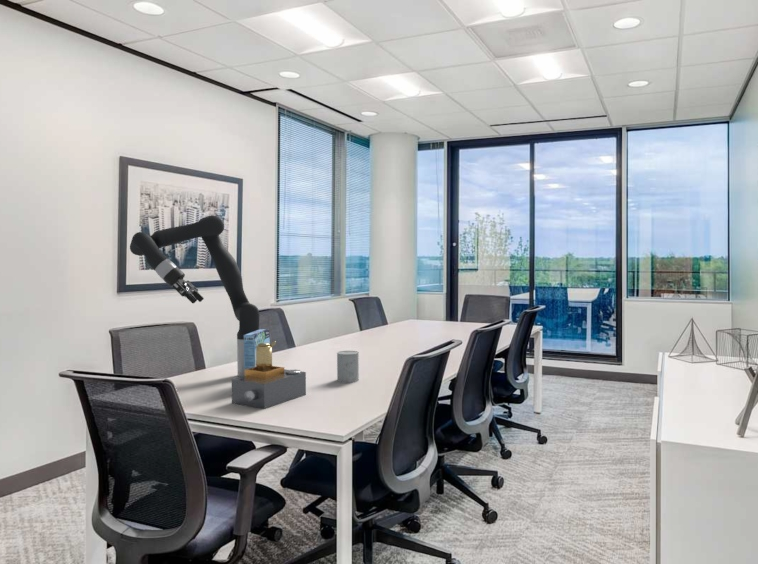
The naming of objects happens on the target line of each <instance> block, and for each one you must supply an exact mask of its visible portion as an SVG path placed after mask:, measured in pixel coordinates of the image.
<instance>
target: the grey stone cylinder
mask: <svg viewBox="0 0 758 564" xmlns="http://www.w3.org/2000/svg"><path fill="white" fill-rule="evenodd" d="M359 359H360V358H359V351H356V350H340V351H337V352H336V363H337V364H336V370H337V374H336V375H337V376H336V377H337V380H336V381H337V382H338V383H343V384H344V383H345V384H347V383H349V384H350V383H356V382H359V380H360V379H359V378H360V377H359V376H360V374H359V370H360V369H359V368H360V367H359V366H360V365H359V364H360V363H359Z"/></svg>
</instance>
